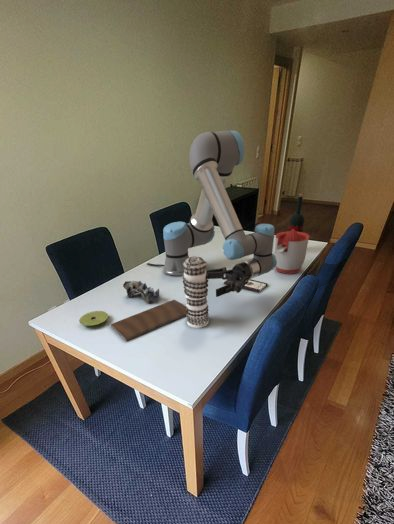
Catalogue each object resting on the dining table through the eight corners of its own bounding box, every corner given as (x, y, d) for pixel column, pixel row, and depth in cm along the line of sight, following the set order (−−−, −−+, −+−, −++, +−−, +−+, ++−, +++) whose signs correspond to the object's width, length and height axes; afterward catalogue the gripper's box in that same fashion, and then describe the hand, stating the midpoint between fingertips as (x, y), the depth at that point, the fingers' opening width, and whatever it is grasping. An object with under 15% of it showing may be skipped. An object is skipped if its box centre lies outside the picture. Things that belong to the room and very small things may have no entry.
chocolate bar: (233, 275, 145) (267, 283, 136) (233, 277, 145) (267, 285, 136) (224, 282, 139) (258, 290, 130) (224, 283, 140) (258, 292, 131)
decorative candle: (195, 313, 119) (191, 252, 104) (214, 319, 114) (213, 256, 99) (181, 323, 113) (175, 260, 98) (200, 330, 109) (197, 265, 94)
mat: (113, 323, 116) (111, 319, 115) (84, 332, 112) (83, 328, 110) (103, 312, 124) (102, 308, 123) (77, 320, 119) (75, 316, 118)
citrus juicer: (263, 271, 150) (267, 230, 138) (284, 261, 158) (289, 222, 146) (289, 279, 140) (295, 237, 128) (309, 269, 149) (317, 228, 137)
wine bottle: (282, 253, 168) (290, 195, 150) (287, 248, 175) (295, 192, 157) (296, 255, 165) (305, 196, 147) (300, 249, 172) (310, 192, 154)
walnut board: (126, 341, 106) (125, 338, 105) (111, 326, 114) (110, 324, 113) (192, 312, 120) (192, 310, 119) (174, 301, 128) (174, 299, 127)
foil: (137, 302, 122) (122, 274, 126) (137, 315, 132) (122, 289, 135) (162, 293, 126) (147, 267, 130) (160, 306, 136) (145, 281, 140)
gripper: (268, 289, 111) (227, 308, 102) (224, 271, 128) (185, 286, 118) (270, 270, 107) (227, 288, 97) (224, 254, 123) (183, 268, 113)
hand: (204, 287), depth 107 cm, fingers open, 13 cm apart
